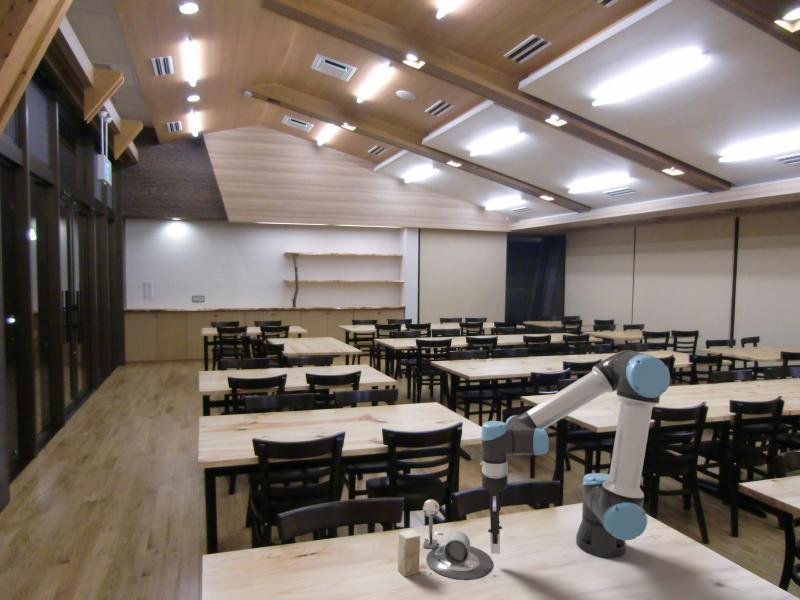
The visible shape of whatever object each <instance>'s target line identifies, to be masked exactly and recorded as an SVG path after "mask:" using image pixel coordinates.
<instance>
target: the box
mask: <svg viewBox="0 0 800 600" xmlns="http://www.w3.org/2000/svg"><path fill="white" fill-rule="evenodd" d="M397 551H398V553H397V554H398V555H397V556H398V558H397V571H399V573H400V574H401V575H402V576H404V577H408V576H413V575H416V574H419V573H420V558H421V557H420V551H421V535H420V534H419V533H418V532H417V531H416V530H414V529H411V530H405V531H401V532H399V533H398V550H397Z"/></svg>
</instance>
